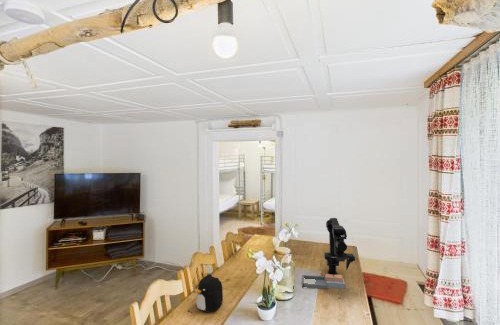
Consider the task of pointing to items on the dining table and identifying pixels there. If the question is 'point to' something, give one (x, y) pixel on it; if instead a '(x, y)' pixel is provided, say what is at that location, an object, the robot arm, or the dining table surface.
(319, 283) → the tray
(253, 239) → the dining table surface
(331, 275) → the tile
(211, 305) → the penguin
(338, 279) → the tile
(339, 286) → the light grey slab
